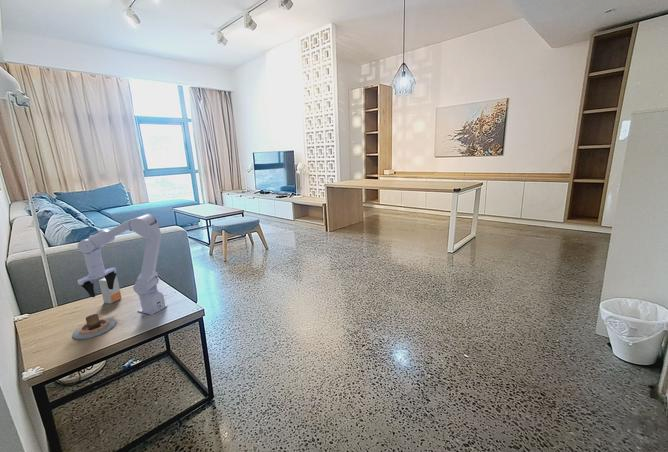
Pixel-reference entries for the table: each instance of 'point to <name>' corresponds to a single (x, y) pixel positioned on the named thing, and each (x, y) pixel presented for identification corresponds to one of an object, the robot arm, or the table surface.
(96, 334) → the ring dish
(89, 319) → the brown rounded cylinder
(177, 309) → the table surface
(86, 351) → the table surface
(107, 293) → the skincare box
